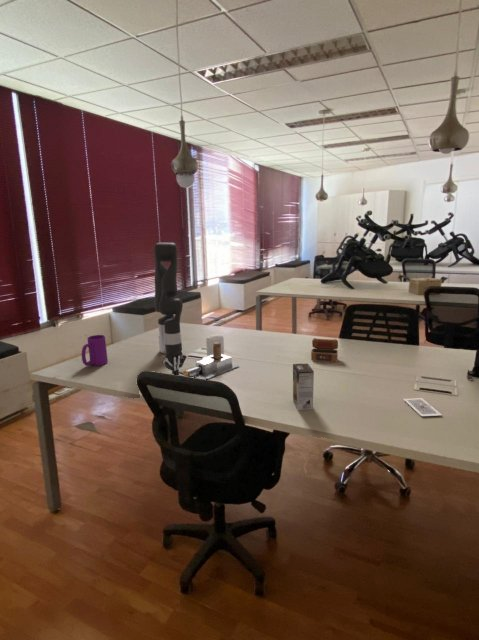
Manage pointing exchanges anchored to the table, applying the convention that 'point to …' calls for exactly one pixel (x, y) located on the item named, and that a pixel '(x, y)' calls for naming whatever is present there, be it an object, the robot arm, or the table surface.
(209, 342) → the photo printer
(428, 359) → the table surface
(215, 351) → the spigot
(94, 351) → the mug
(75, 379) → the table surface
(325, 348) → the box
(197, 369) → the lock pin
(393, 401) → the table surface
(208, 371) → the dock
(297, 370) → the coffee box
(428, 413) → the touchpad
